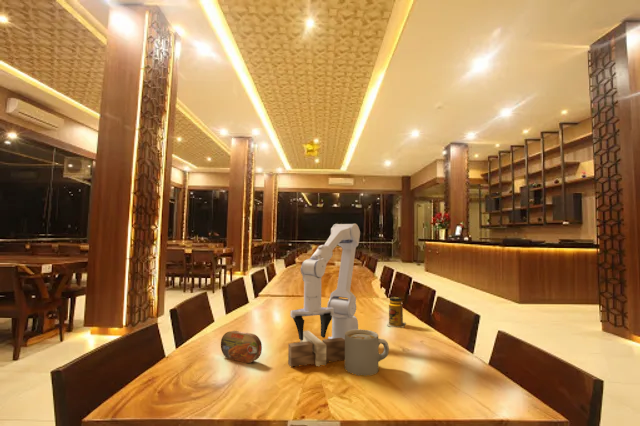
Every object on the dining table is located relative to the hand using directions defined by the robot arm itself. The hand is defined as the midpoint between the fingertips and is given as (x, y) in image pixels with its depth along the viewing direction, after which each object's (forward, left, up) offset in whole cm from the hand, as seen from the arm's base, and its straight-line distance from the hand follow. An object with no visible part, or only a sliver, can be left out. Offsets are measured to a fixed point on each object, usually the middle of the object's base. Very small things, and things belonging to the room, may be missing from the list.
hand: (312, 338), depth 106 cm
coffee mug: (-12, +15, -6) cm, 20 cm away
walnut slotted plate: (0, +5, -6) cm, 8 cm away
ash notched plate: (0, +1, -6) cm, 6 cm away
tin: (+22, -5, -6) cm, 23 cm away
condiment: (-49, -23, -6) cm, 54 cm away
